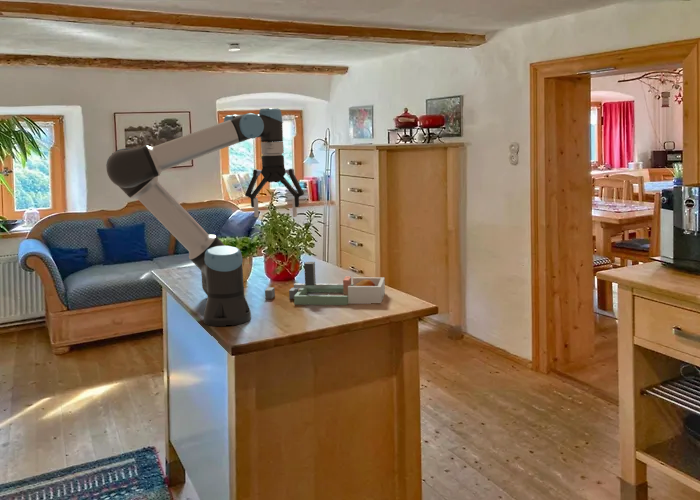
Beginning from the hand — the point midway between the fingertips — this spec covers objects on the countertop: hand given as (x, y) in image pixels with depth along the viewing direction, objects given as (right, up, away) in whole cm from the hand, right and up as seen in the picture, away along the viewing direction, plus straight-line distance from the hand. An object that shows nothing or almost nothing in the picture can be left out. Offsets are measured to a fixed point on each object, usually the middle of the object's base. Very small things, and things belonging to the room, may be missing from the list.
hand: (275, 216), depth 221 cm
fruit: (+31, -29, +8) cm, 43 cm away
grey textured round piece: (-21, -29, +16) cm, 40 cm away
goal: (+31, -29, +8) cm, 43 cm away
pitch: (+11, -29, +11) cm, 33 cm away
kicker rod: (+16, -28, +10) cm, 34 cm away
